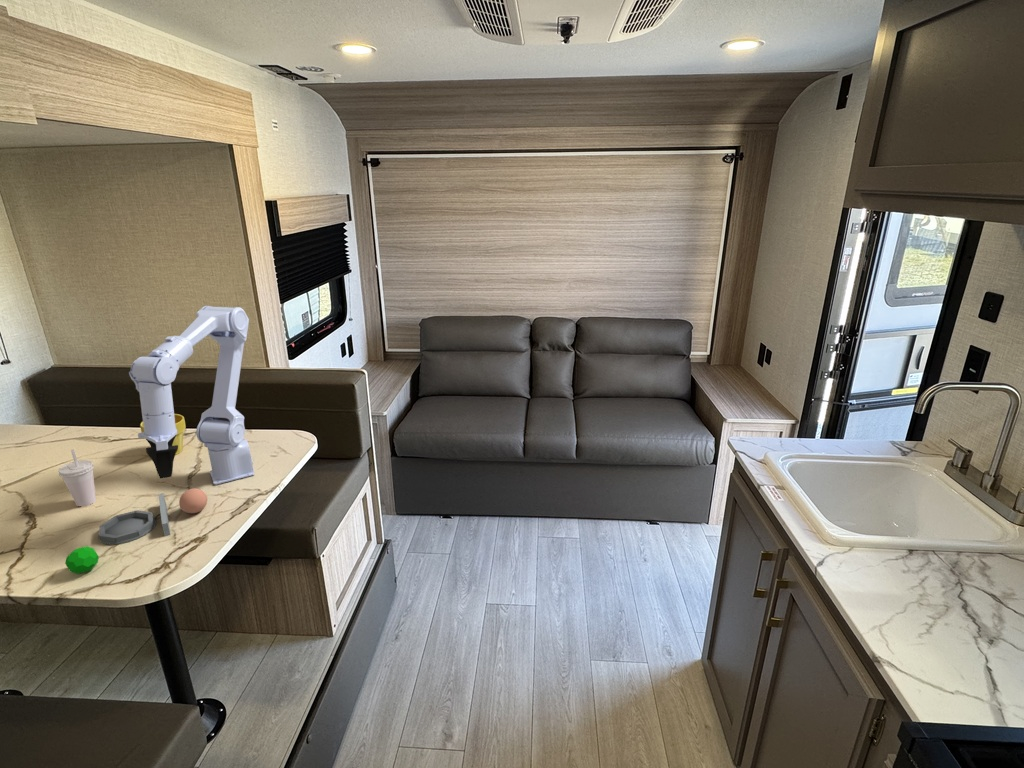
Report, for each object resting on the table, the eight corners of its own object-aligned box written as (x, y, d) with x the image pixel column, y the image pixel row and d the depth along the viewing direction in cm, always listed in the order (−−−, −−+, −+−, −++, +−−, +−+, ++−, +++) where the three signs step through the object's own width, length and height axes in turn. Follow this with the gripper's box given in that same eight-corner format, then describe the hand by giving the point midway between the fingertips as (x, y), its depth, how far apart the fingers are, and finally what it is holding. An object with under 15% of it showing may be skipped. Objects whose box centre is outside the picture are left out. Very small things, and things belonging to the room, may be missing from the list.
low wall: (166, 504, 125) (163, 493, 124) (170, 534, 115) (167, 522, 114) (161, 505, 125) (158, 494, 124) (164, 536, 114) (162, 524, 113)
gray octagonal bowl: (154, 510, 123) (153, 505, 122) (157, 533, 115) (155, 527, 114) (99, 525, 117) (97, 519, 117) (97, 550, 109) (95, 544, 109)
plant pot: (184, 440, 157) (177, 410, 153) (195, 452, 150) (188, 420, 147) (143, 451, 150) (135, 420, 146) (153, 464, 143) (145, 431, 140)
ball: (207, 501, 127) (203, 481, 125) (210, 513, 122) (206, 492, 121) (180, 509, 124) (175, 488, 122) (183, 521, 119) (178, 499, 117)
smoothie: (84, 511, 122) (68, 457, 117) (62, 508, 123) (44, 454, 118) (109, 497, 128) (95, 445, 123) (87, 493, 129) (72, 442, 124)
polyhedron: (93, 577, 102) (86, 556, 100) (64, 580, 101) (56, 559, 99) (106, 560, 107) (99, 540, 105) (78, 563, 106) (71, 543, 104)
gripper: (135, 406, 117) (142, 464, 120) (135, 423, 105) (143, 486, 108) (173, 402, 121) (179, 458, 124) (176, 418, 109) (183, 480, 112)
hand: (165, 471), depth 116 cm, fingers open, 7 cm apart
